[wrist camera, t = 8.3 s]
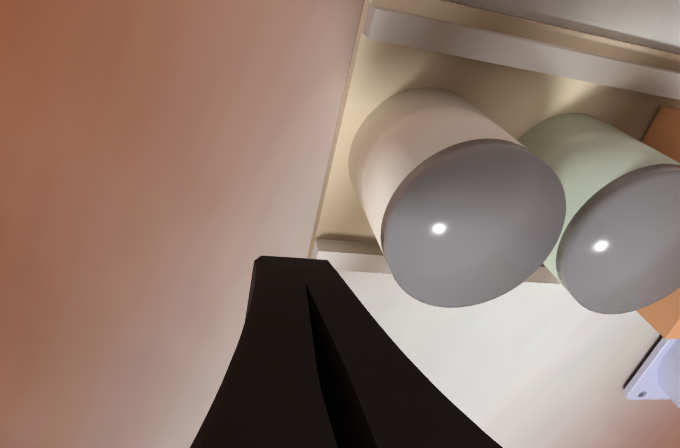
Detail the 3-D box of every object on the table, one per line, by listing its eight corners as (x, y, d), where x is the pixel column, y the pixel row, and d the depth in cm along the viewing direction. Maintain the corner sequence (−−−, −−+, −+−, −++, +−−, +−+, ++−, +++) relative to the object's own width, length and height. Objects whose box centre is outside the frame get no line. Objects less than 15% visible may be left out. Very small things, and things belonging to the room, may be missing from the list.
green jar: (639, 119, 18) (760, 179, 14) (583, 233, 21) (673, 313, 16) (519, 106, 17) (614, 168, 13) (476, 229, 19) (544, 314, 15)
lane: (837, 90, 20) (1018, 144, 15) (695, 284, 25) (800, 369, 20) (368, -17, 14) (432, 17, 10) (307, 259, 19) (331, 366, 15)
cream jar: (505, 97, 17) (597, 160, 13) (459, 222, 19) (523, 309, 15) (365, 77, 15) (416, 139, 11) (335, 214, 18) (368, 306, 14)
